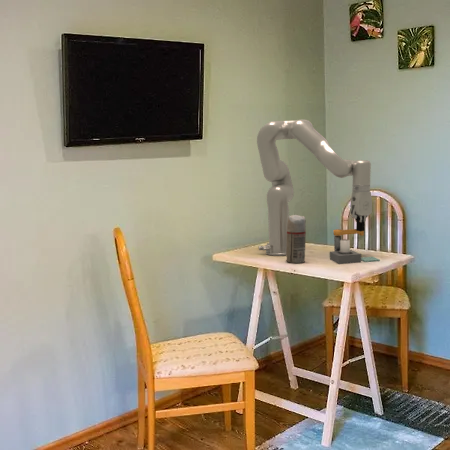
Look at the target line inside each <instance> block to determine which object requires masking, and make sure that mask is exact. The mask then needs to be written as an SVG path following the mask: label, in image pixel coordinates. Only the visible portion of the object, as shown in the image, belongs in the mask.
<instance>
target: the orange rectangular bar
mask: <svg viewBox="0 0 450 450" xmlns="http://www.w3.org/2000/svg"><path fill="white" fill-rule="evenodd" d="M364 233H365V230H364V231H357V230H356V228H352V229H351V228H349V229H333V236H345V235H346V236H347V235H359V236H364V235H365V234H364Z"/></svg>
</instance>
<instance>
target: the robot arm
mask: <svg viewBox="0 0 450 450" xmlns="http://www.w3.org/2000/svg"><path fill="white" fill-rule="evenodd" d="M277 140H278V141H280V140H297V141H298V142H299V143H300V144H301V145H303V147H305V148H306V149H307V150H308V151H309V152H310V153H311V154H313V156H314V157H315V159H317V160H318V161H319V162H320V164H321V165H322V166H323V167H325V168H326V169H327V170H328V171H329V172H330V173H332V175H333V176H335V177H336V178H339V179H344V178H346V177H351V176H352V187H351V188H352V191H351V197H350V208H349V211H350V212H349V213H350V214H351V219H354V222H355V223H356V224H355V225H356V226H355V229H356V230H357V231H364V232H365V226H366V225H365V222H366V219H367V218H368V217H370V215H371V214H372V213H373V199H372V198H373V197H372V192H371V173H372V171H371V166H372V164H371V162H370V160H363V159H357V160H353V159H345V158H342V157H341V156H340V155H338V154H337V153H336V152H335V151H334V150H333V148H332V147H331V145H330V143H329V141H328V140H327V139H326V138H325V137H324V136H323V135H322V134H321V133H319V131H317V130H316V129H315V128H314V124H313V123H312V122H311V121H310V120H308V119H296V120H294V119H293V120H271V121H268V122H266V123H265V124H263V126H262V127H261V128H260V129H259V130H258V133H257V135H256V144H257V150H258V154H259V159H260V163H261V167H262V173H263V175H264V178H265V180H266V181H268V182H271V185H272V186H271V187H270V188H269V189H268V190H267V193H266V203H267V214H268V243H266V244H265V245H259V246H258V250H259V251H265V254H266V255H269V256H275V257H279V256H280V257H281V256H283V257H284V256H287V255H286V248H287V246H286V245H287V244H286V243H287V223H288V217H289V216H290V209H289V202H291V201H292V199H293V198H294V193H295V191H294V185H293V181H292V177H291V173H290V168H289V167H288V165H287V163H286V162H284V161H283V160H281V158H280V155H279V150H278V147H277V144H276V141H277Z"/></svg>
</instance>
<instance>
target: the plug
mask: <svg viewBox="0 0 450 450" xmlns="http://www.w3.org/2000/svg"><path fill="white" fill-rule="evenodd" d="M351 250H352V249H351V240H350V239H349V238H348V239H346V238H344V239H342V238H341V240H340V251H339V253H340V254H350V253H351Z"/></svg>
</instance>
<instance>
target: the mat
mask: <svg viewBox="0 0 450 450" xmlns="http://www.w3.org/2000/svg"><path fill="white" fill-rule="evenodd" d="M380 261H381V259H379V258H377V257H375V256H365V257H364V256H363V257H362V256H361V262H363V263H372V262H380Z"/></svg>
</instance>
